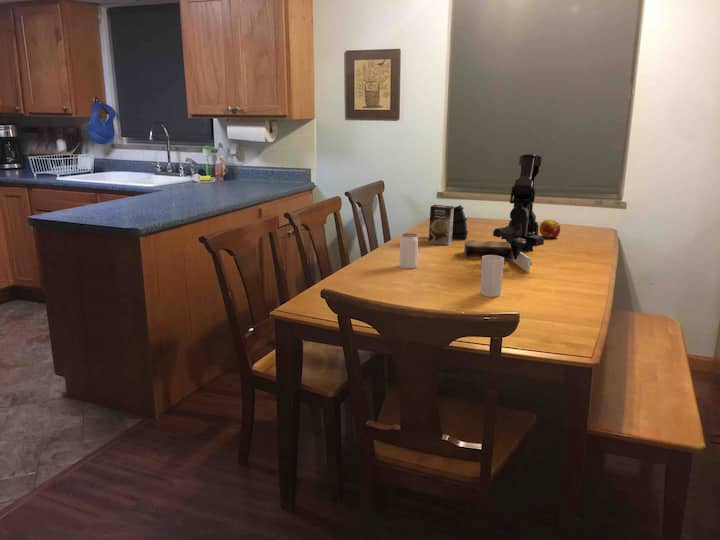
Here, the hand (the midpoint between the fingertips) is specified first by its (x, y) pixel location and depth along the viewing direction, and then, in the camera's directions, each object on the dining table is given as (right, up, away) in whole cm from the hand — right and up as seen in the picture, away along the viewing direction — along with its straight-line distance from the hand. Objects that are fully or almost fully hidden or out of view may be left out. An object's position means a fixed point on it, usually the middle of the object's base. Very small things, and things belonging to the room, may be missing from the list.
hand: (515, 259), depth 227 cm
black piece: (-17, +10, +47) cm, 51 cm away
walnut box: (-7, +2, +15) cm, 17 cm away
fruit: (+29, +11, +51) cm, 60 cm away
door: (+2, -3, +1) cm, 4 cm away
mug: (-17, -12, -35) cm, 41 cm away
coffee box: (-23, +7, +37) cm, 44 cm away
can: (-40, -3, -3) cm, 40 cm away
